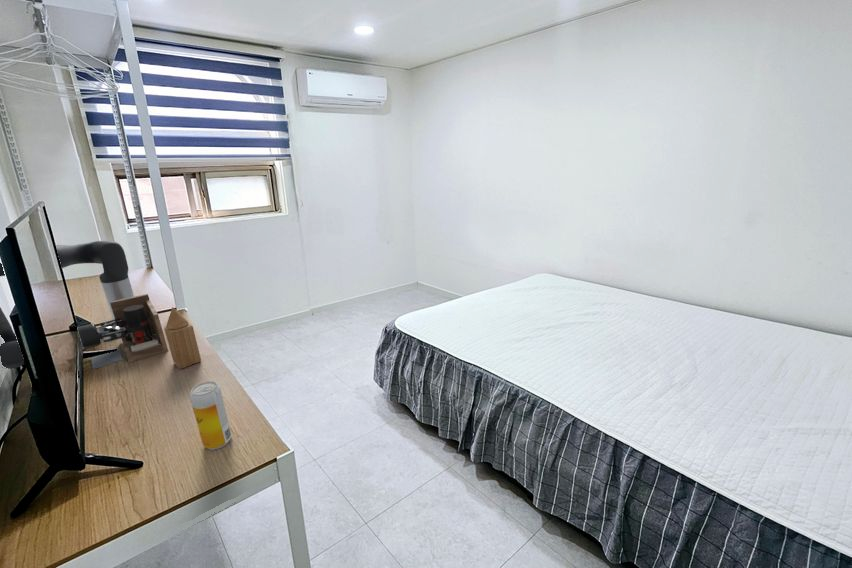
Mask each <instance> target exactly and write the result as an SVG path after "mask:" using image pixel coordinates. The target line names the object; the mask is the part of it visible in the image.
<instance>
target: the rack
mask: <svg viewBox="0 0 852 568" xmlns="http://www.w3.org/2000/svg"><path fill="white" fill-rule="evenodd" d="M110 305H111V308H112V311H113V314H114V317H115V319H118V318H121V319H123V320H125V316H124V313H123V309H124V308H126V307H129V306H133V305H143V306H144V309H145V313H146V316H147V320H148V323H149V326H150V330H151V333H152V336H156V339H157V340H158V343H159V344H160V345H156V346H153V347H149V348H146V349H142V350H139V351H135V352H132V351H131V349H130V348H129V342H133V341H132V338H131V335H130V333H129V334H128V335H126V337H125V338H121V342H122V345H123V349H124V352H125V354H126V355H125V356H126V358H127V361H128V363H131V362H135V361H137V360H141V359H145V358H148V357H151V356H154V355H155V356H156V355H158V354H162V353H165V352H168V351H169V349H168V345H167V344H168V343H167V341H166V336H165V334H164V331H163V327H162V323H161V320H160V317H159V313H158V312H157V310H156V309H155V306H154V305H153V303H152V302H151V300H150V296H149V294H148V293H145V294H140V295H134V297H130V298H125V299H120V300H116V301H111V302H110ZM124 327H126V328H127V327H128V326H126V325H125V326H124ZM124 327H122V328H124Z"/></svg>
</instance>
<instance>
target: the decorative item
mask: <svg viewBox="0 0 852 568" xmlns="http://www.w3.org/2000/svg"><path fill="white" fill-rule="evenodd" d="M167 319H168V320H167V321H166V326H165V327H164V332H165V338H166V340H167V344H168V347H169V351H170V354H171V358H172V362H173V363H174V364H175V366H176V367H178V369H181V370H182V369H185V368H187V367H191V366H192V364H193V365H195V364H197V363H200V362H201V361H202V358H201V355H200V354H201V353H200V350H199V346H198V342H197V341H198V340H197V337H196V334H195V330H194V326H193V325H192V324H191V323H190V322H189V321H188V320H187V319H186V318H185V317H184V316H183V315H182V314H181V313H180V312H179V311H178V310H177V309H176V308H175V307H173V306H172V307H171V310H170V314H169V316H168V318H167Z"/></svg>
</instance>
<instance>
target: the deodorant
mask: <svg viewBox="0 0 852 568" xmlns="http://www.w3.org/2000/svg"><path fill="white" fill-rule="evenodd" d="M123 313H124V316H125V319H126V322H127V325H128V327H129V326H133V325H137V324H139V325H140V327H141V330H140V331H137V332H133V333H130V335H131V338H132V341H131V342H132V344H133V345H137V344H141V343H145V342H148V341H152V340H154V337H153V335H152V333H151V330H150V326H149V323H148V320H147V316H146V313H145V309H144V306H143V305H133V306H129V307H126V308H124V309H123Z"/></svg>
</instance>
